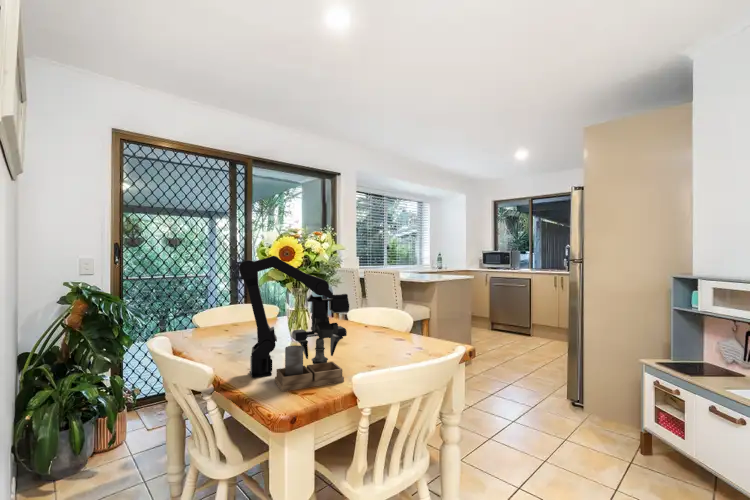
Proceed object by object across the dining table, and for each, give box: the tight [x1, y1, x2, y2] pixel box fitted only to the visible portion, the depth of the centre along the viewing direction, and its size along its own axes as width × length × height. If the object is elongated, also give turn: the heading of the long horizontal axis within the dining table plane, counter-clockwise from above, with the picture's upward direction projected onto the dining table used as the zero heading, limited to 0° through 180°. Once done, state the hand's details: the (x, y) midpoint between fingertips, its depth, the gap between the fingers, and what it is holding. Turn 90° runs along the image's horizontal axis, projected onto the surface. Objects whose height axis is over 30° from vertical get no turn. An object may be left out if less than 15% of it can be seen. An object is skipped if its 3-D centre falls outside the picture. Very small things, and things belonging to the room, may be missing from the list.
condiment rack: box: [274, 345, 345, 393], centre depth 122 cm, size 20×10×12 cm, turn 116°
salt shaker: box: [311, 337, 329, 364], centre depth 135 cm, size 6×6×12 cm
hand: (319, 357), depth 135 cm, fingers open, 9 cm apart
